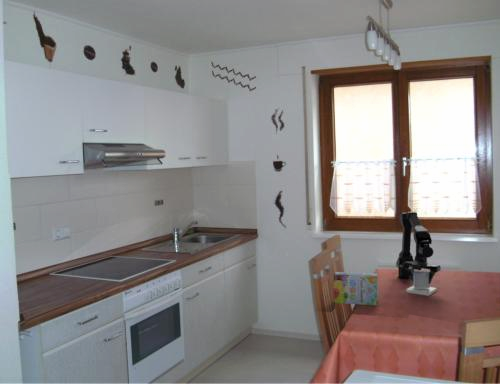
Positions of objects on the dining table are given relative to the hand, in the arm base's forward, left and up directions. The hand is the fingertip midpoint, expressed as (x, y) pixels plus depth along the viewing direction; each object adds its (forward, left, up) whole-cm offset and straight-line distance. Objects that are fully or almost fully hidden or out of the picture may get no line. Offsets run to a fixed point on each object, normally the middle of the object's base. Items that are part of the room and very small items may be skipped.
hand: (421, 282), depth 275 cm
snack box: (-19, -38, -5) cm, 43 cm away
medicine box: (0, 0, -3) cm, 3 cm away
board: (0, 0, -5) cm, 5 cm away
